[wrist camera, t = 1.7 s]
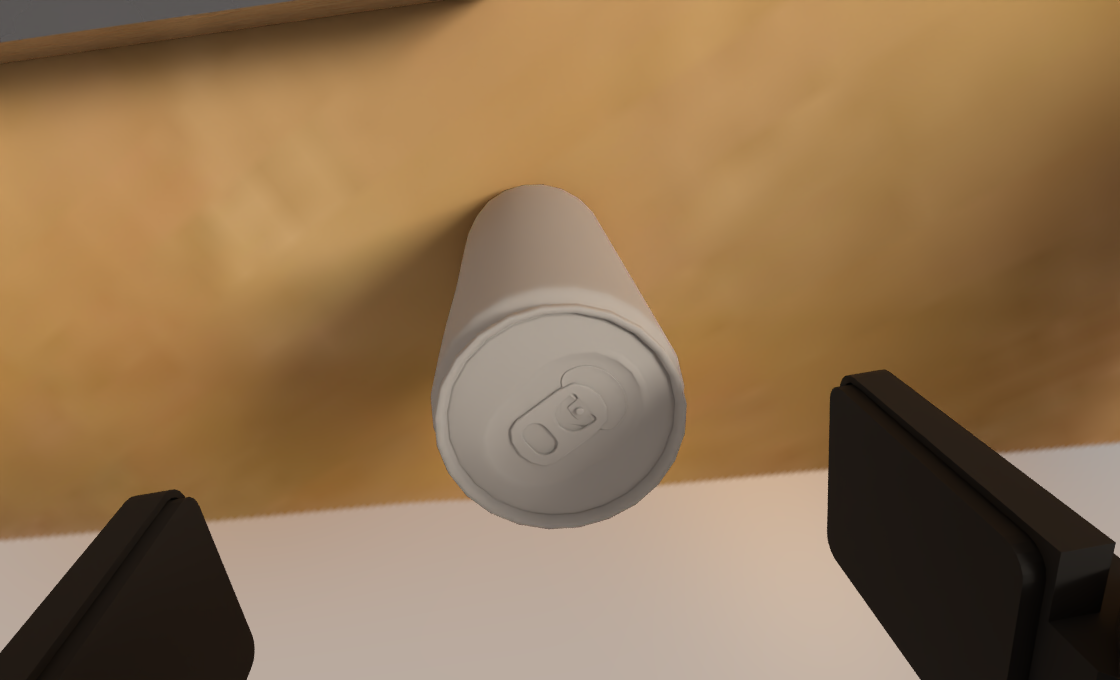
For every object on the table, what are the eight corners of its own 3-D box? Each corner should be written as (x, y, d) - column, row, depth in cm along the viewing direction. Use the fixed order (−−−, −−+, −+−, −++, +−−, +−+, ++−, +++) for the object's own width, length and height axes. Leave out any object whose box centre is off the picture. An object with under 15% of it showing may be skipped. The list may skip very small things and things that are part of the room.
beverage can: (632, 261, 24) (744, 437, 13) (525, 343, 24) (542, 576, 13) (545, 150, 22) (586, 240, 11) (433, 243, 23) (367, 413, 12)
